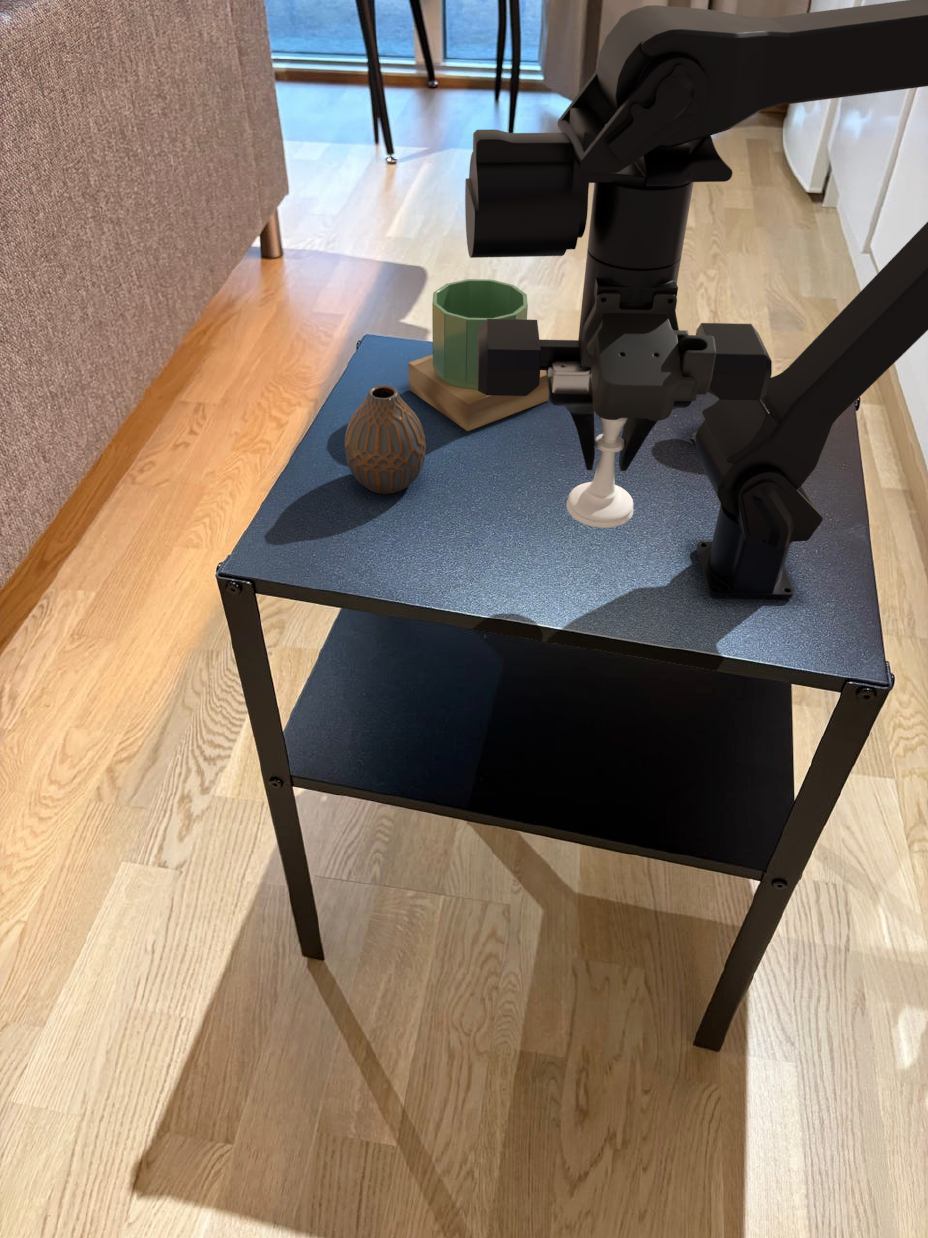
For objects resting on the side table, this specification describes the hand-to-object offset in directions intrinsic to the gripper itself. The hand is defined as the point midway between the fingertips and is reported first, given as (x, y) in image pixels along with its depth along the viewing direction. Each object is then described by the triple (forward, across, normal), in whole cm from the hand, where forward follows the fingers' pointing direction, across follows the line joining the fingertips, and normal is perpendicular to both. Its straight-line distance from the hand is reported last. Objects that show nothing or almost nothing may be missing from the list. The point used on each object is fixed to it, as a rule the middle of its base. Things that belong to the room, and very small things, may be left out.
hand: (605, 467), depth 72 cm
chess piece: (+4, 0, 0) cm, 4 cm away
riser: (+10, -9, +29) cm, 32 cm away
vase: (+11, -17, +13) cm, 24 cm away
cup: (+7, -9, +29) cm, 31 cm away
